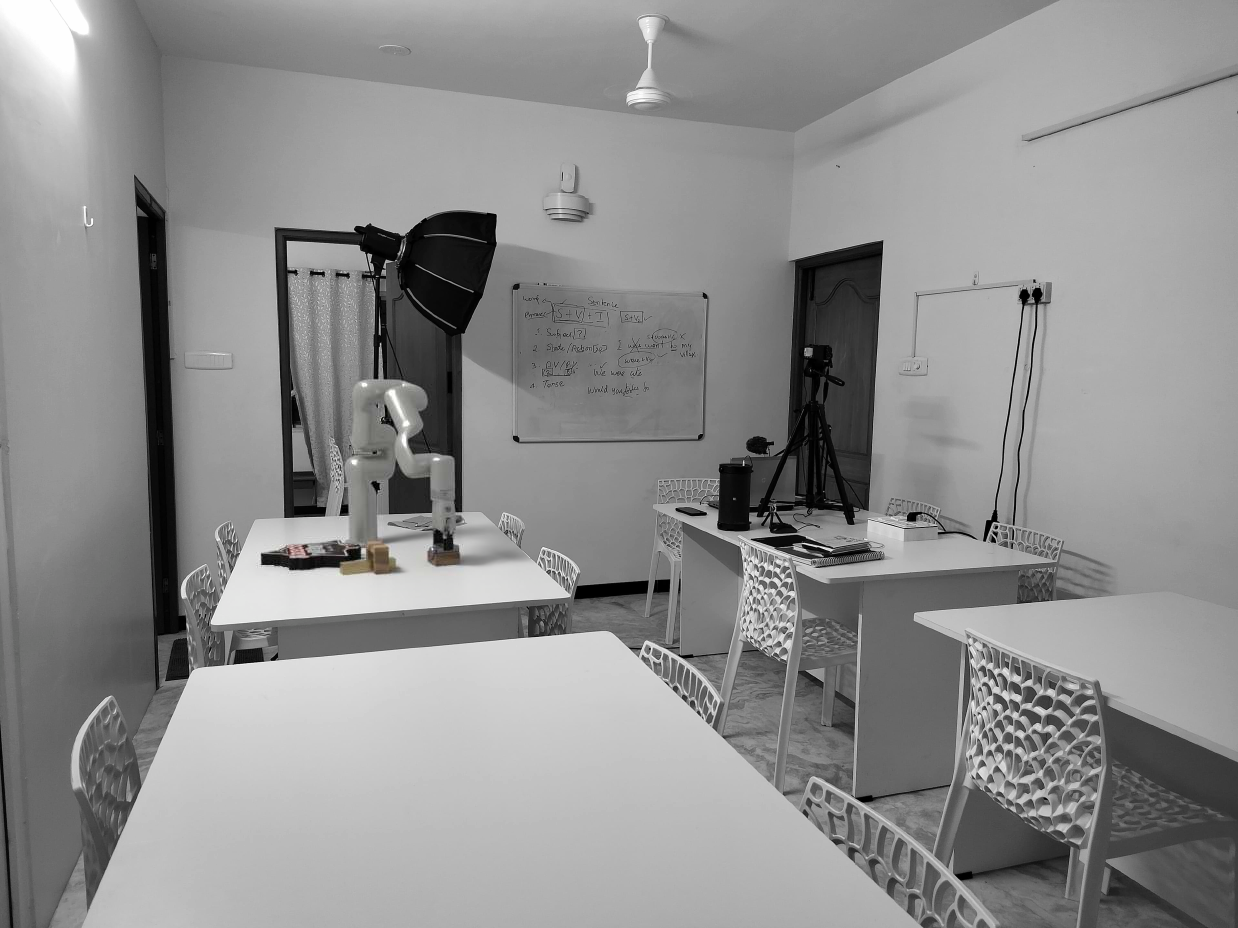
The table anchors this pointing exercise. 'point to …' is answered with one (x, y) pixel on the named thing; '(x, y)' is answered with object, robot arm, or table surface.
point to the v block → (444, 559)
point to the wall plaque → (312, 555)
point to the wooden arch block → (378, 556)
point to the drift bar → (362, 566)
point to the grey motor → (441, 549)
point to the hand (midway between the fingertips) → (443, 547)
